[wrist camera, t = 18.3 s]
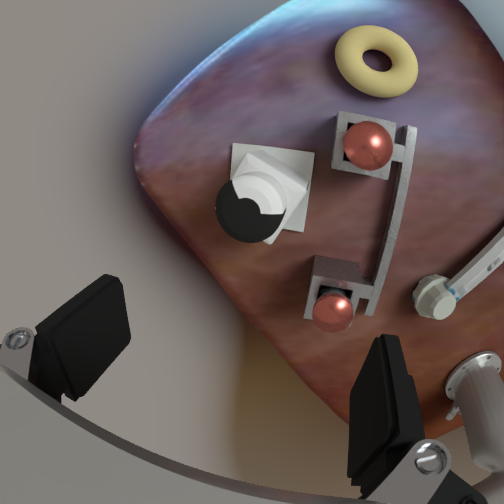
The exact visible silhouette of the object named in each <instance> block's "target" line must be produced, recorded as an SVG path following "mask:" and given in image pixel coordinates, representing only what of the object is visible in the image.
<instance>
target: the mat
mask: <svg viewBox="0 0 504 504" xmlns="http://www.w3.org/2000/svg"><path fill="white" fill-rule="evenodd" d="M258 150H263V151H264V152H266V153H268V154H269V155H271V156H273V157H274V158H276V159H278V160H279V161H281V162H282V163H284V164H286V165H287V166H289V167H290V168H292V169H294V170H295V171H297V172H298V173H300V174H301V175H303V176H304V177H306V178H308V179H309V181H310V182H309V186H308V189H307V192H306V194H305V195H304V197H303V198H302V200H301V201H300V203H299V204H298V206H297V207H296V209H295V210H294V212H293V213H292V215H291V216H290V218H289V219H288V221H287V222H286V224H285V225H284V227H283V228H282V229H288V230H294V231H299V232H303V231H304V225H305V219H306V212H307V206H308V199H309V192H310V185H311V178H312V171H313V163H314V155H315V153H313V152H306V151H299V150H292V149H285V148H277V147H268V146H259V145H250V144H239V143H233V149H232V161H231V174H230V179H231V177H232V176H233V174H234V172H235V170H236V169H237V167H238V165H239V163H240V162H241V160H242V158H243V156H244V155H245V154H246V153H248V152H253V151H258Z"/></svg>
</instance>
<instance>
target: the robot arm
mask: <svg viewBox="0 0 504 504" xmlns="http://www.w3.org/2000/svg"><path fill="white" fill-rule="evenodd" d="M35 329H36V331H37V335H35V336H34V333H33V331H32V330H30V329H28V328H23V327H22V328H16V329H14V330H12V331H10V332H9V333H7V334H6V336H5V337H4V339H3V342H2V344H0V504H504V384H503V381H502V379H501V377H500V375H499V372H500V369H501V360H500V358H499V356H498V354H496V353H495V352H493V351H483V352H479V353H477V354H474V355H472V356H470V357H468V358H467V359H465V360H464V361H463V362H461V363H460V364H459V365H458V366H457V367H456V368H455V369H454V370H453V371H452V372H451V374H450V375H449V377H448V379H447V381H446V384H445V392H446V394H447V397H448V398H449V399H451V400H453V404H452V408H451V409H450V410H449V411H448V412H447V413H446V415H445V417H446V419H447V420H452V419H453V417H454V416H455V415H456V413H457V412H458V411H459V412H458V413H459V414H460V415H461V417H462V421H463V425H464V428H465V432H466V436H467V440H468V444H469V449H470V453H471V458H472V460H473V462H474V464H475V465H476V466H478V467H479V468H481V469H484V470H486V471H489V472H491V475H490V476H488V477H487V478H485V479H484V480H482V481H481V482H479V483H477V484H475V485H473V486H470V485H469V484H468V483H466V482H465V481H464V480H462V479H461V478H460V477H459V476H457V475H456V474H455V473H453V472H452V471H451V470H450V466H451V455H450V452H449V451H448V449H447V448H446V447H445V445H443V444H442V443H441V442H439V441H437V440H433V439H425V434H424V428H423V423H422V417H421V412H420V407H419V402H418V397H417V392H416V388H415V383H414V380H413V377H412V376H411V375H408V372H407V368H406V364H405V360H404V356H403V352H402V348H401V344H400V340H399V337H398V336H395V335H388V334H382V335H381V336H380V338H378V337H376V338H375V339H374V341H373V343H372V346H371V348H370V350H369V353H368V355H367V357H366V360H365V362H364V364H363V366H362V368H361V371H360V373H359V375H358V377H357V379H356V381H355V383H354V385H353V388H352V390H351V393H350V418H349V451H348V468H347V477H348V478H352V480H351V486H361V489H360V492H361V493H362V495H361V496H360V497H359V498H358V499H352V498H342V497H333V496H322V495H313V494H305V493H298V492H292V491H286V490H280V489H275V488H269V487H264V486H259V485H255V484H250V483H246V482H241V481H237V480H233V479H230V478H226V477H222V476H218V475H215V474H212V473H209V472H205V471H202V470H199V469H196V468H193V467H190V466H187V465H184V464H182V463H179V462H176V461H173V460H171V459H168V458H166V457H163V456H160V455H158V454H156V453H153V452H151V451H148V450H146V449H144V448H142V447H139V446H137V445H135V444H133V443H131V442H129V441H127V440H125V439H122V438H120V437H118V436H116V435H114V434H113V433H111V432H109V431H107V430H105V429H103V428H101V427H99V426H97V425H96V424H94V423H92V422H90V421H89V420H87V419H85V418H83V417H82V416H80V415H78V414H77V413H75V412H73V411H72V410H70V409H69V408H67V407H65V406H64V405H62V404H61V395H62V394H63V393H64V394H65V396H66V397H68V398H70V399H71V400H73V401H75V402H76V401H77V399H78V398H79V397H82V396H84V395H85V394H86V393H87V391H88V390H89V389H90V388H91V387H92V385H93V384H94V383H95V382H96V381H97V380H98V379H99V377H100V376H101V375H102V374H103V373H104V371H105V370H106V369H107V368H108V367H109V366H110V364H111V363H112V362H113V361H114V360H115V359H116V358H117V356H118V355H119V354H120V353H121V352H122V351H123V350H124V349H125V347H126V346H127V345H128V344H129V342H130V339H131V333H130V328H129V322H128V317H127V311H126V304H125V298H124V291H123V285H122V283H121V282H120V280H119V278H118V277H115V276H112V275H108V274H104V275H103V276H101V277H100V278H98V279H97V280H95V281H94V282H93V283H91V284H90V285H89V286H87V287H86V288H85V289H83V290H82V291H81V292H79V293H78V294H77V295H75V296H74V297H73V298H71V299H70V300H69V301H68V302H66V303H65V304H63V305H62V306H61V307H60V308H58V309H57V310H56V311H55V312H53V313H52V314H51V315H49V316H48V317H47V318H46V319H44V320H43V321H42V322H41V323H39V324H38V325H37V326H36V327H35Z"/></svg>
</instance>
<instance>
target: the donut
mask: <svg viewBox="0 0 504 504" xmlns="http://www.w3.org/2000/svg"><path fill="white" fill-rule="evenodd" d="M371 49H374V50H379V51H381V52H383V53H385V54H386V55H387V56H388V57H389V58H390V59H391V61H392V67H391V69H390V70H388V71H386V72H379V71H375V70H373V69H371V68H369V67H368V66H367V65H366V64H365V63H364V61H363V59H362V55H363V53H364V52H365V51H367V50H371ZM335 60H336V64H337V67H338V69H339V71H340V73H341V74H342V76H343V77H344V78H345V79H346V80H347V81H348V82H349V83H350V84H351V85H352V86H353V87H355V88H356V89H358V90H359V91H361V92H363V93H365V94H368V95H371V96H375V97H381V98H390V97H396V96H399V95H401V94H403V93H405V92H407V91H408V90H409V89H410V88H411V87H412V86H413V84H414V83H415V81H416V78H417V75H418V64H417V59H416V57H415V54H414V52H413V50H412V49H411V47H410V46H409V45H408V44H407V42H406V41H405V40H403V39H402V38H401V37H400V36H399V35H397V34H396V33H394V32H392V31H390V30H388V29H385V28H382V27H378V26H372V25H365V26H358V27H355V28H352V29H350V30H348V31H347V32H345V33H344V34H343V35H342V36H341V37H340V39H339V40H338V42H337V45H336V48H335Z"/></svg>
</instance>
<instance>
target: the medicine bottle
mask: <svg viewBox="0 0 504 504" xmlns="http://www.w3.org/2000/svg"><path fill="white" fill-rule="evenodd" d="M309 182H310V181H309V179H308V178H306V177H304V176H303V175H301V174H300V173H298V172H297V171H295V170H294V169H292V168H290V167H289V166H287V165H286V164H284V163H282V162H281V161H279V160H278V159H276V158H274V157H273V156H271V155H269V154H268V153H266V152H264V151H263V150H258V151H253V152H248V153H246V154H245V155H244V156H243V158H242V160H241V162H240V163H239V165H238V167H237V169H236V170H235V172H234V174H233V176H232V177H231V179H230V181H228V182H227V183H226V184H225V185H224V186H223V187H222V188H221V190H220V191H219V194H218V196H217V199H216V207H215V210H216V215H217V219H218V221H219V223H220V225H221V227H222V228H223V229H224V231H225V232H226V233H227V234H229V235H230V236H231V237H233V238H235V239H237V240H239V241H242V242H247V243H255V242H260V241H264V242H265V243H267V244H272V243H273V242H274V240H275V239H276V237H277V236H278V234H279V233H280V231H281V230H282V228H283V227H284V225H285V224H286V222H287V221H288V219H289V218H290V216H291V215H292V213H293V212H294V210H295V209H296V207H297V206H298V204H299V203H300V201H301V200H302V198H303V197H304V195H305V194H306V192H307V189H308V186H309Z"/></svg>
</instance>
